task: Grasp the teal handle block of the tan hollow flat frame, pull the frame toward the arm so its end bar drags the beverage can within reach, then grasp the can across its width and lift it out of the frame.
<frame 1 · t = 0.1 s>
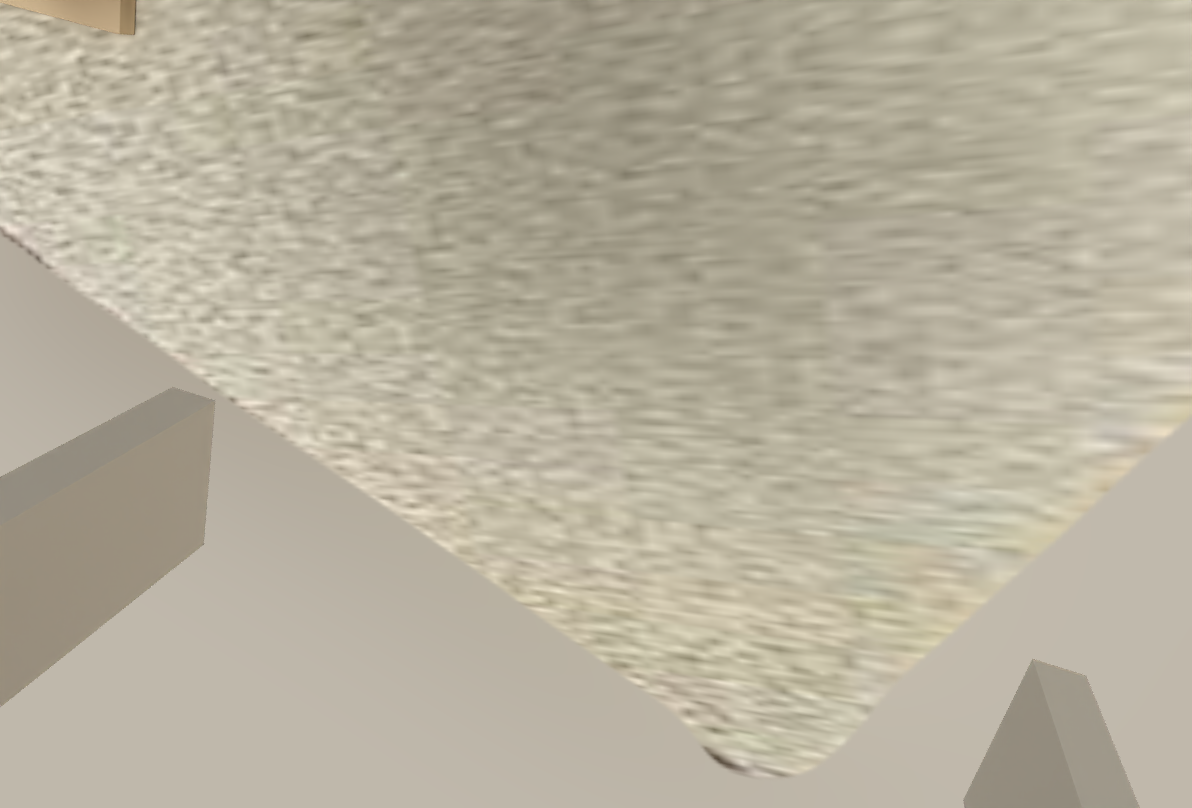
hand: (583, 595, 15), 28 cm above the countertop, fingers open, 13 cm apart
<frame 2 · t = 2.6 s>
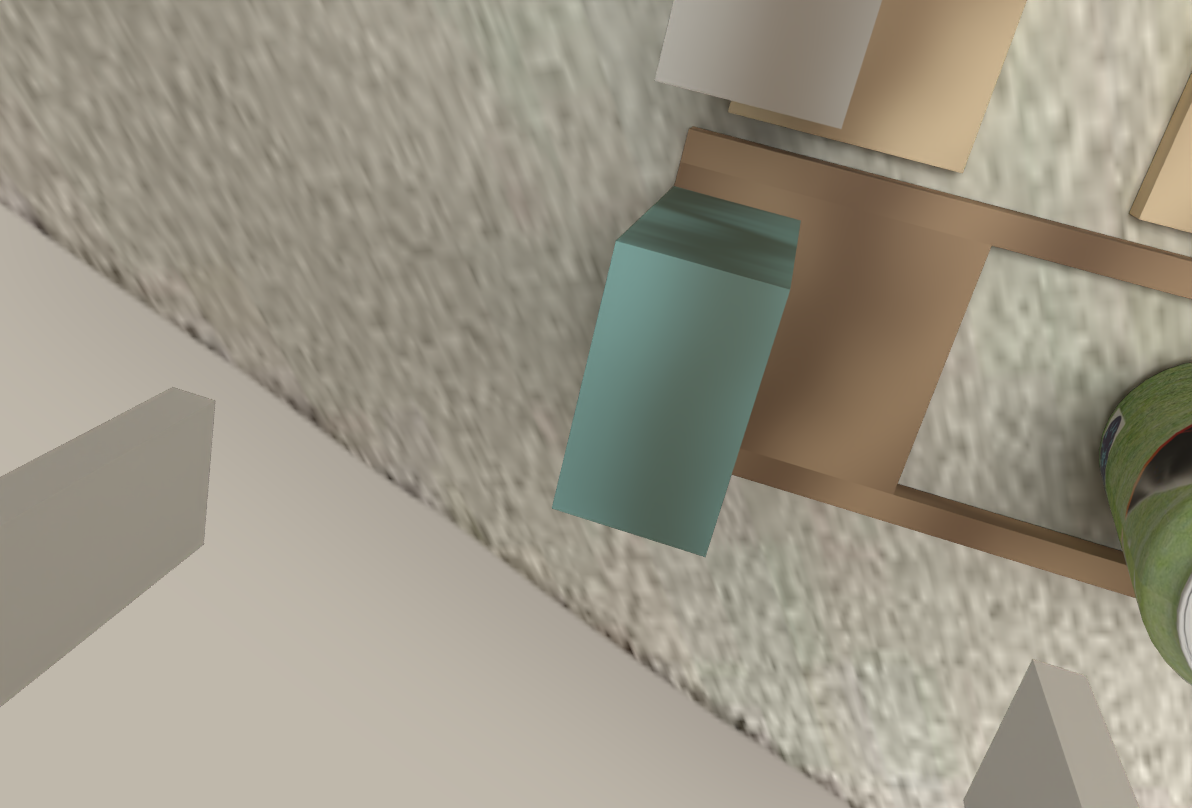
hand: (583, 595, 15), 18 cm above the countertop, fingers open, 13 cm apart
broken strip: (1118, 54, 27), on the countertop
tan hollow flat frame: (1019, 441, 26), point 5 cm above the countertop, slide at 0.0 cm
beverage can: (1174, 432, 31), resting in tan hollow flat frame
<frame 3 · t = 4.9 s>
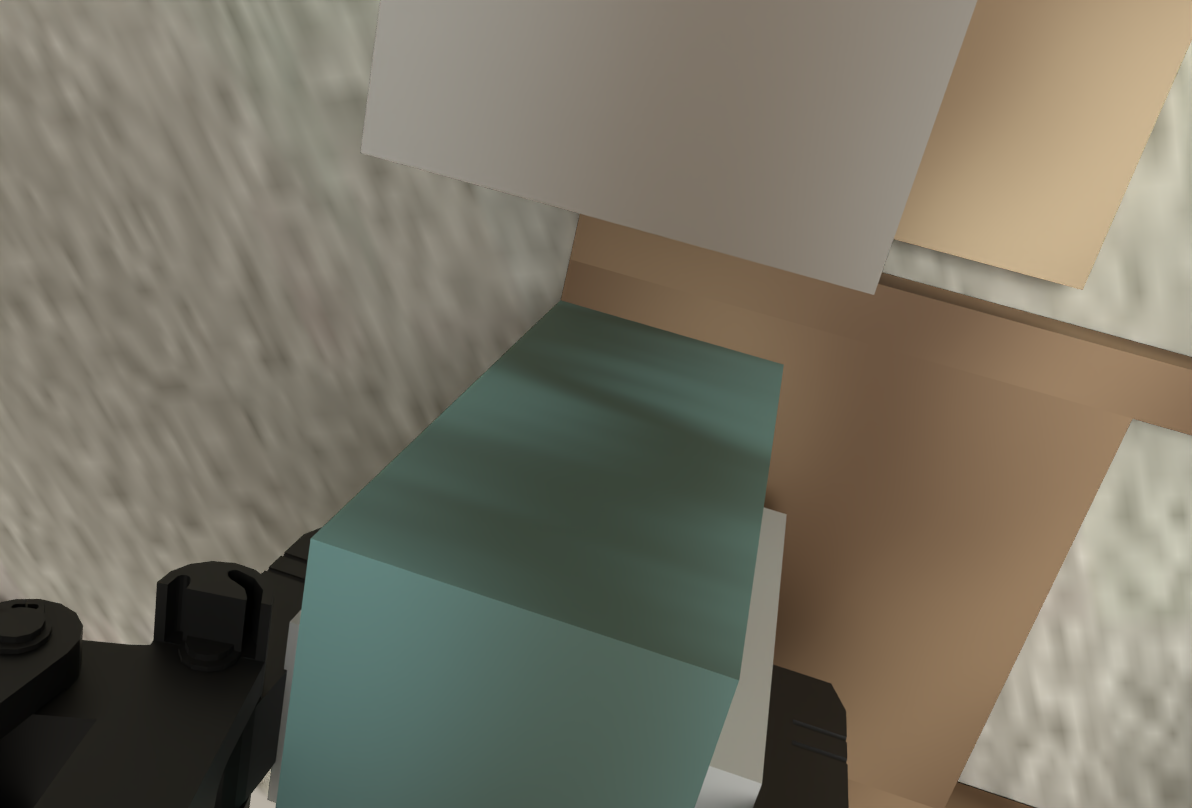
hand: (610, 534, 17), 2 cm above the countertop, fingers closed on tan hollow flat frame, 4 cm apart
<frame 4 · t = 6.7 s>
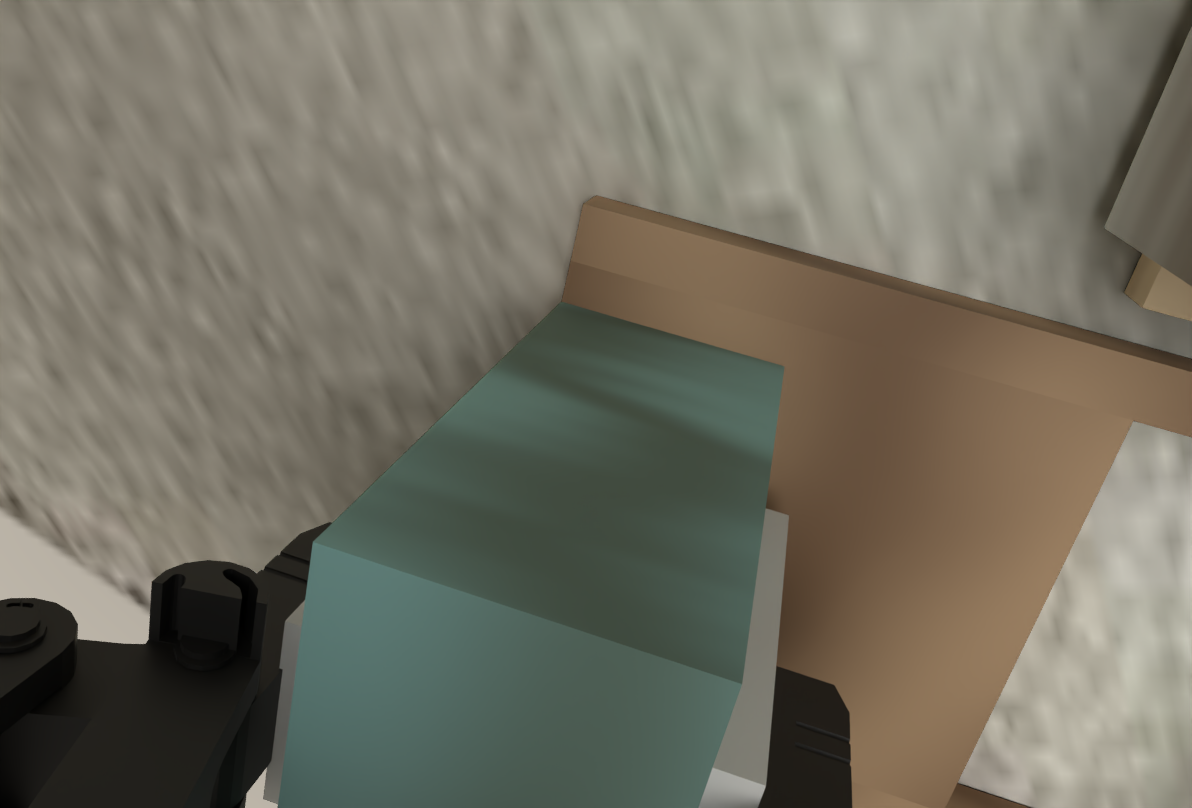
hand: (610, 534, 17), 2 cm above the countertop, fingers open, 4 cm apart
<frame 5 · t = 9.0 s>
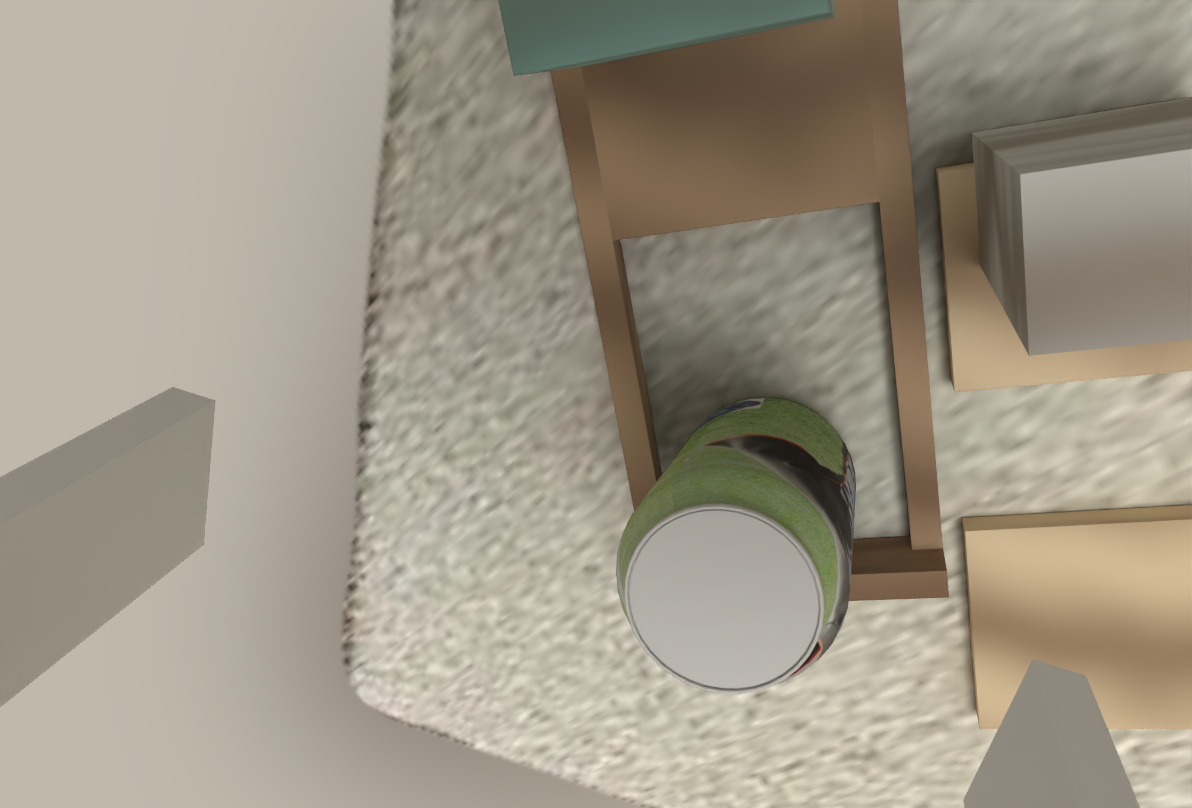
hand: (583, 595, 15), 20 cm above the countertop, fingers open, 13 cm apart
broken strip: (1087, 455, 32), on the countertop
tan hollow flat frame: (735, 307, 28), point 5 cm above the countertop, slide at 7.9 cm, touching beverage can
beverage can: (765, 448, 35), resting in tan hollow flat frame
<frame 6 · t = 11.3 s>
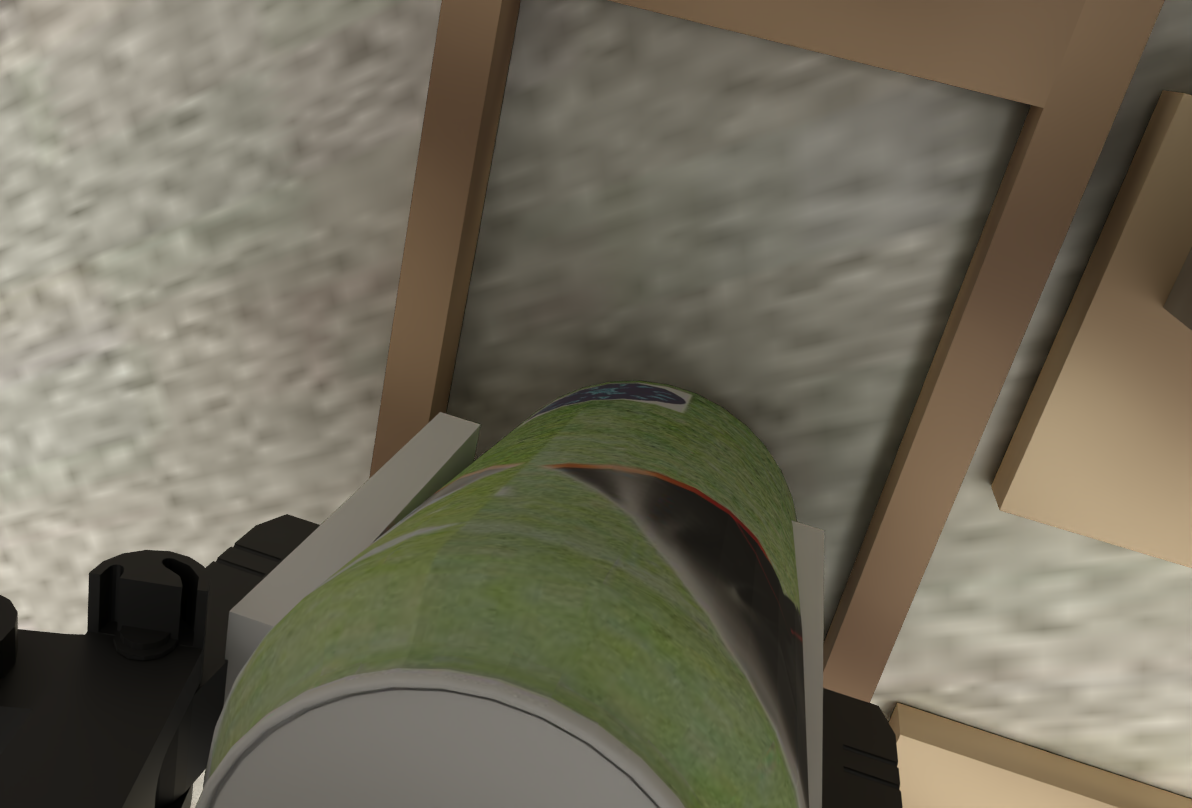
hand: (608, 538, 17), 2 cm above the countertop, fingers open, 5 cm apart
broken strip: (1145, 688, 18), on the countertop
tan hollow flat frame: (703, 185, 12), point 5 cm above the countertop, slide at 7.9 cm
beverage can: (654, 477, 19), resting in tan hollow flat frame, touching gripper
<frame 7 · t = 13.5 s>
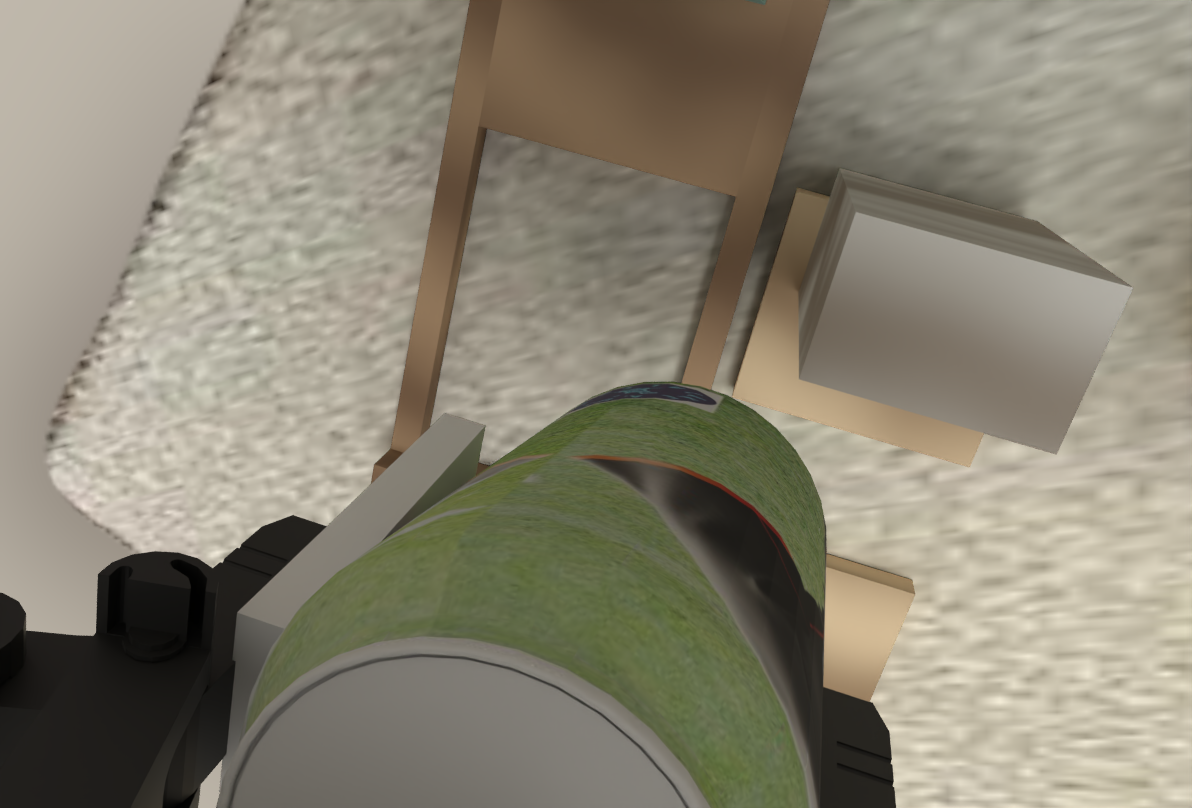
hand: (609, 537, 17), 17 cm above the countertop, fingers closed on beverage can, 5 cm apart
broken strip: (819, 497, 34), on the countertop
tan hollow flat frame: (565, 236, 28), point 5 cm above the countertop, slide at 7.9 cm
beverage can: (685, 477, 20), point 14 cm above the countertop, touching gripper
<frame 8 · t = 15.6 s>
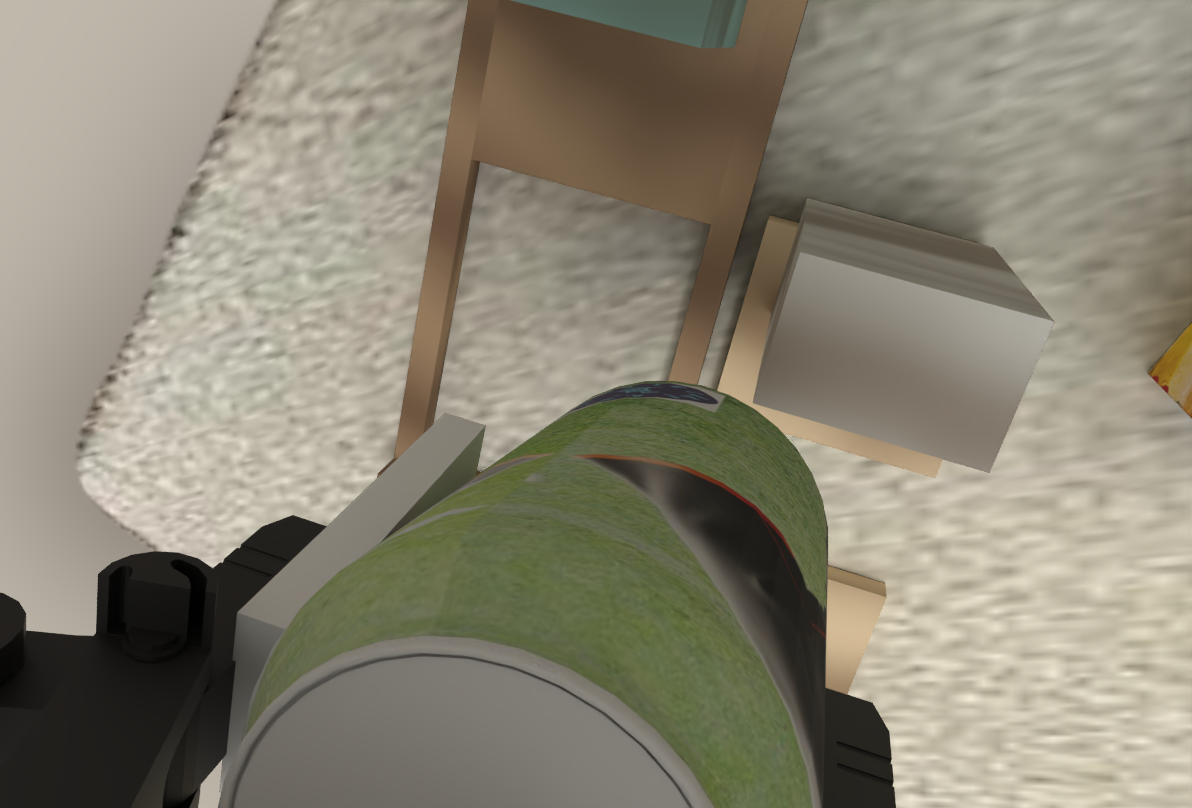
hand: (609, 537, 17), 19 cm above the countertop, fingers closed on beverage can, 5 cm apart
broken strip: (796, 505, 36), on the countertop
tan hollow flat frame: (547, 265, 30), point 5 cm above the countertop, slide at 7.9 cm
beverage can: (686, 477, 20), point 16 cm above the countertop, touching gripper
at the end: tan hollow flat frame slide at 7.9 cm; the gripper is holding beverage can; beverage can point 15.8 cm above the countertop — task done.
